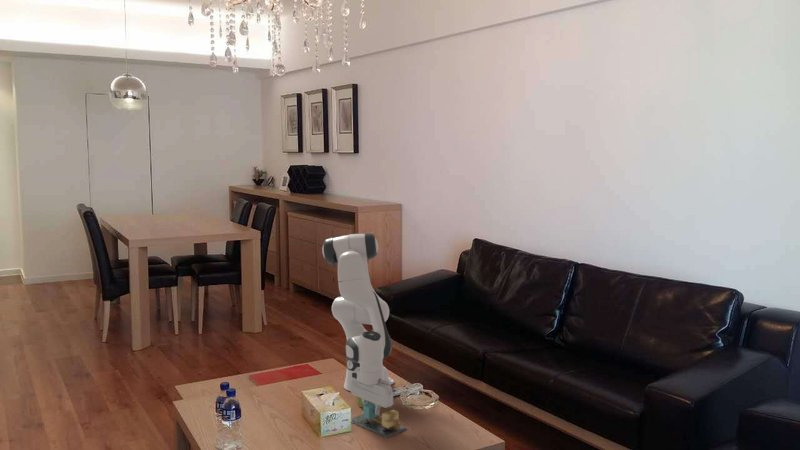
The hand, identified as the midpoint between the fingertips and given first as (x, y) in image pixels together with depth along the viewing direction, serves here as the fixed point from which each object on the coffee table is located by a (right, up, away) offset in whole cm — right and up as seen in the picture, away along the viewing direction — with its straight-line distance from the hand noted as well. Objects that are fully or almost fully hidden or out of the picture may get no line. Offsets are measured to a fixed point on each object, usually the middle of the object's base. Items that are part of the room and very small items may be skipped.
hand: (371, 412), depth 249 cm
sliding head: (0, -3, 0) cm, 3 cm away
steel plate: (+2, -5, -2) cm, 5 cm away
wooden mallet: (+2, -4, -2) cm, 4 cm away
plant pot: (-3, -3, +18) cm, 19 cm away
